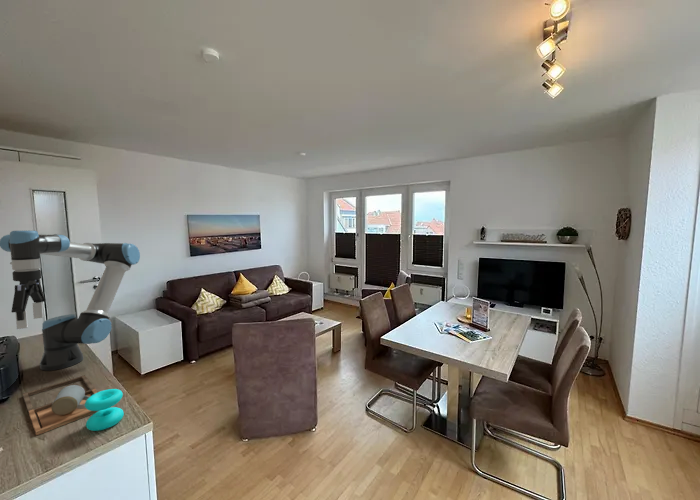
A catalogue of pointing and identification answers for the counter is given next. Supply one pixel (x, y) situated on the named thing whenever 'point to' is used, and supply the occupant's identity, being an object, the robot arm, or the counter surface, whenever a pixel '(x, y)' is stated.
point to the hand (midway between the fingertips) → (31, 323)
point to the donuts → (104, 409)
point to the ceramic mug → (69, 400)
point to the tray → (46, 413)
